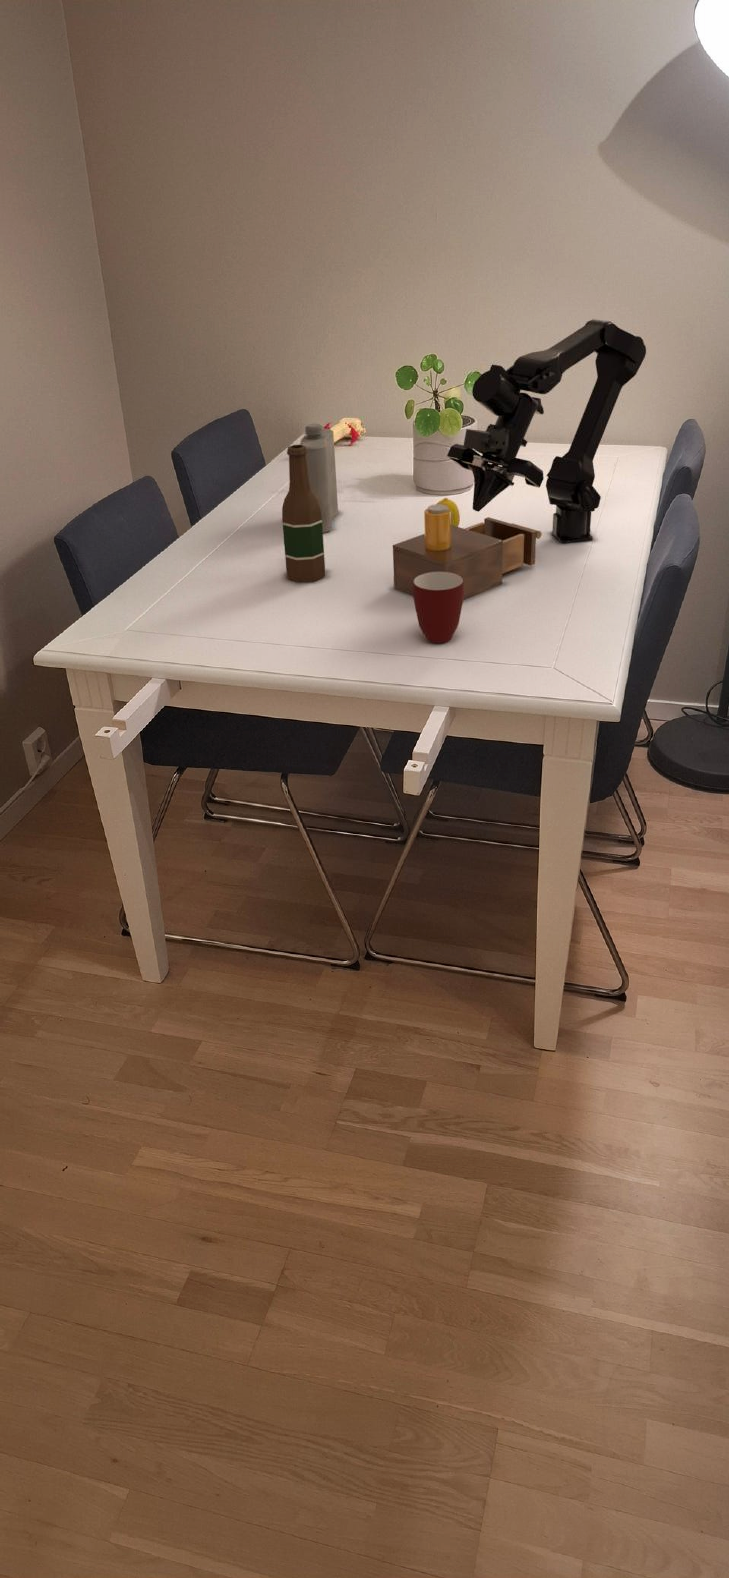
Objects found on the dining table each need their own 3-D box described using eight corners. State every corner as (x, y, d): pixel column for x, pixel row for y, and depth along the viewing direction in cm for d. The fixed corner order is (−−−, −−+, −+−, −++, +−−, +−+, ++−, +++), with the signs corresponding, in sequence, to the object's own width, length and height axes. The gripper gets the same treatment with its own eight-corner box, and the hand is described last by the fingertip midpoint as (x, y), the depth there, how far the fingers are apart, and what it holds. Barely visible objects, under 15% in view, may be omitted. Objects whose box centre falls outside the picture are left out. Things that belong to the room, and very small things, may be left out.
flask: (313, 510, 238) (306, 416, 228) (339, 510, 237) (334, 416, 227) (302, 534, 226) (294, 435, 215) (330, 533, 225) (323, 434, 214)
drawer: (503, 543, 213) (504, 511, 210) (551, 557, 205) (552, 524, 202) (438, 568, 203) (437, 535, 200) (485, 584, 196) (485, 550, 192)
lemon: (457, 542, 217) (457, 502, 213) (430, 541, 218) (429, 502, 214) (461, 533, 222) (461, 494, 218) (434, 532, 223) (433, 493, 219)
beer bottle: (332, 570, 207) (325, 441, 195) (318, 585, 201) (309, 453, 189) (295, 566, 210) (284, 439, 197) (279, 581, 204) (267, 451, 191)
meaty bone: (333, 466, 271) (373, 432, 289) (330, 430, 266) (371, 398, 284) (298, 463, 275) (340, 429, 293) (294, 428, 270) (337, 396, 287)
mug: (418, 622, 185) (417, 565, 180) (466, 623, 184) (466, 566, 179) (411, 648, 176) (410, 590, 171) (461, 649, 175) (461, 590, 170)
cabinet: (450, 566, 206) (450, 524, 202) (502, 584, 198) (503, 540, 193) (393, 588, 198) (392, 545, 194) (445, 607, 190) (445, 562, 185)
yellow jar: (447, 540, 194) (447, 502, 191) (453, 549, 191) (453, 510, 187) (422, 543, 194) (421, 504, 190) (427, 552, 190) (427, 512, 186)
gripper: (447, 399, 193) (412, 483, 195) (527, 415, 181) (489, 504, 183) (482, 426, 202) (448, 506, 204) (561, 443, 190) (524, 528, 192)
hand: (475, 510), depth 195 cm, fingers closed
